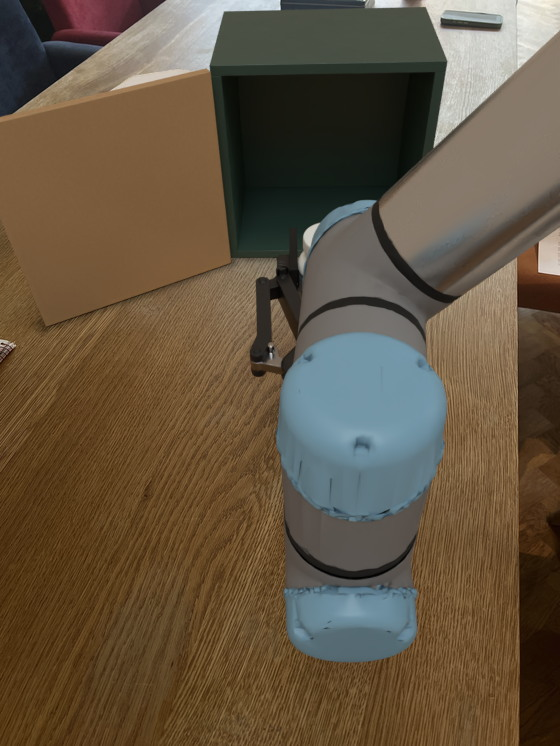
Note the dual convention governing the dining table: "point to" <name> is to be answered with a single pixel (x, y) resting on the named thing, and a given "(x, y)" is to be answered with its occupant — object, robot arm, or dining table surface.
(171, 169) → the cupboard door
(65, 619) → the dining table surface
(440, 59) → the cupboard
